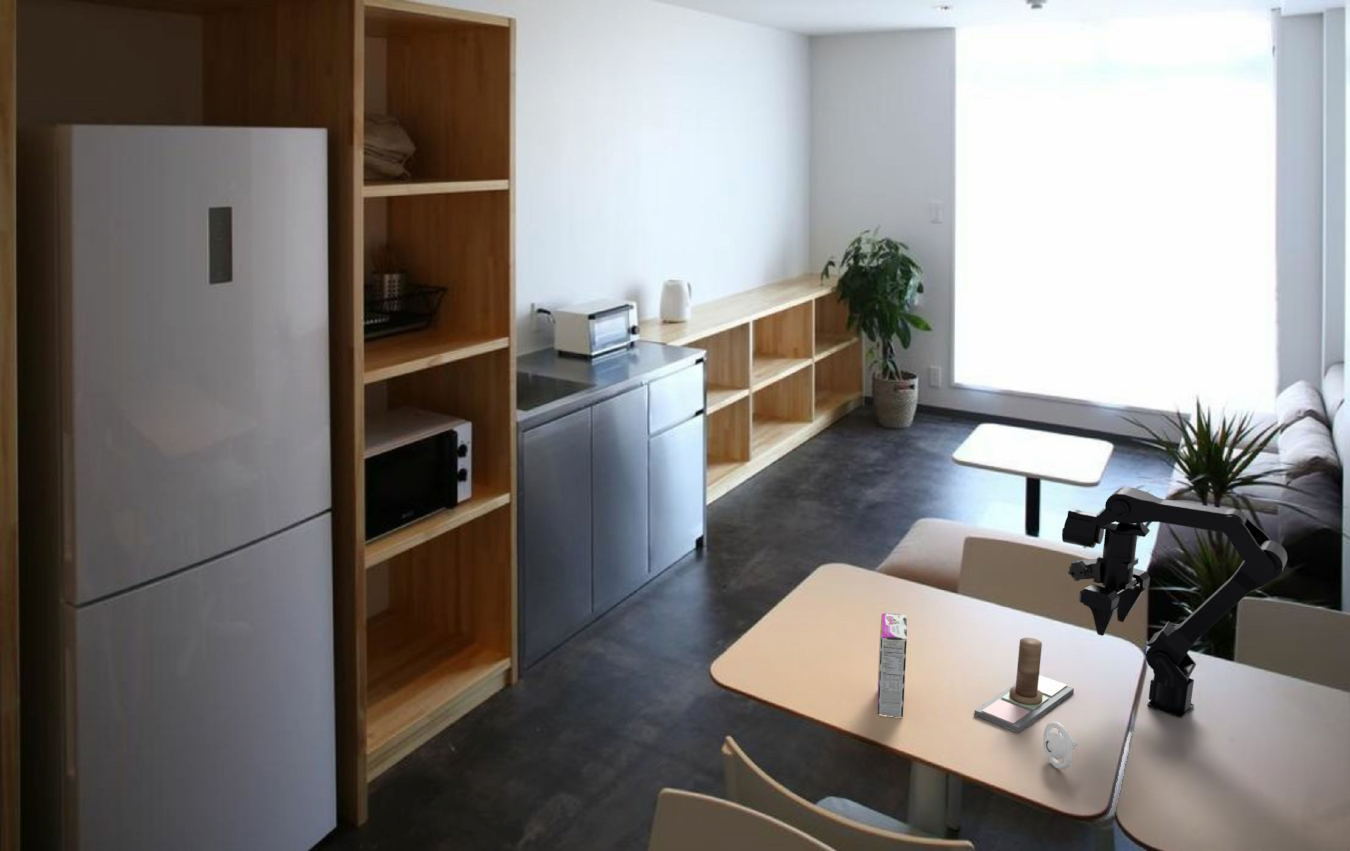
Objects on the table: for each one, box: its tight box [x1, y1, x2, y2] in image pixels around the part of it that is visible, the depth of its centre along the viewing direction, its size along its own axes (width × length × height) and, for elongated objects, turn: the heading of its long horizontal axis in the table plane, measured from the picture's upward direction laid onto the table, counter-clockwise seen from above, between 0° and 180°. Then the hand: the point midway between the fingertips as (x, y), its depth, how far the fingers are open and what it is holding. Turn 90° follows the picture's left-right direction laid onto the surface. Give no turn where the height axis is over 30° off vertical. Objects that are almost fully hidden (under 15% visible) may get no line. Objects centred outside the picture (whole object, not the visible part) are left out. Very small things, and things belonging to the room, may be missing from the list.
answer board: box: [973, 674, 1075, 733], centre depth 201 cm, size 9×22×1 cm, turn 135°
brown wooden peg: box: [1009, 637, 1043, 705], centre depth 200 cm, size 6×6×12 cm
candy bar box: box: [877, 612, 908, 718], centre depth 199 cm, size 11×5×16 cm, turn 168°
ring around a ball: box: [1042, 721, 1079, 771], centre depth 179 cm, size 8×6×8 cm
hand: (1110, 628), depth 205 cm, fingers open, 9 cm apart
